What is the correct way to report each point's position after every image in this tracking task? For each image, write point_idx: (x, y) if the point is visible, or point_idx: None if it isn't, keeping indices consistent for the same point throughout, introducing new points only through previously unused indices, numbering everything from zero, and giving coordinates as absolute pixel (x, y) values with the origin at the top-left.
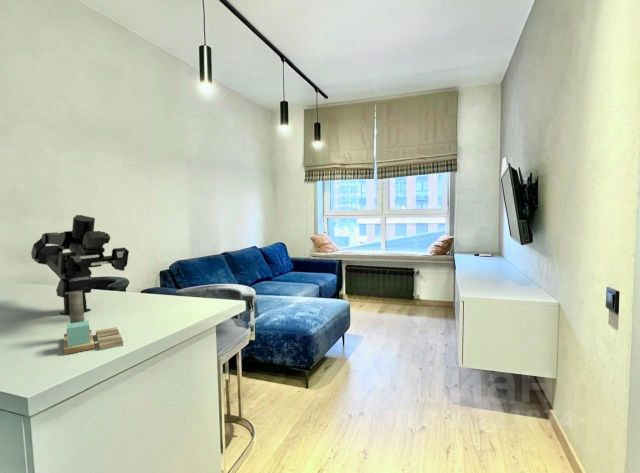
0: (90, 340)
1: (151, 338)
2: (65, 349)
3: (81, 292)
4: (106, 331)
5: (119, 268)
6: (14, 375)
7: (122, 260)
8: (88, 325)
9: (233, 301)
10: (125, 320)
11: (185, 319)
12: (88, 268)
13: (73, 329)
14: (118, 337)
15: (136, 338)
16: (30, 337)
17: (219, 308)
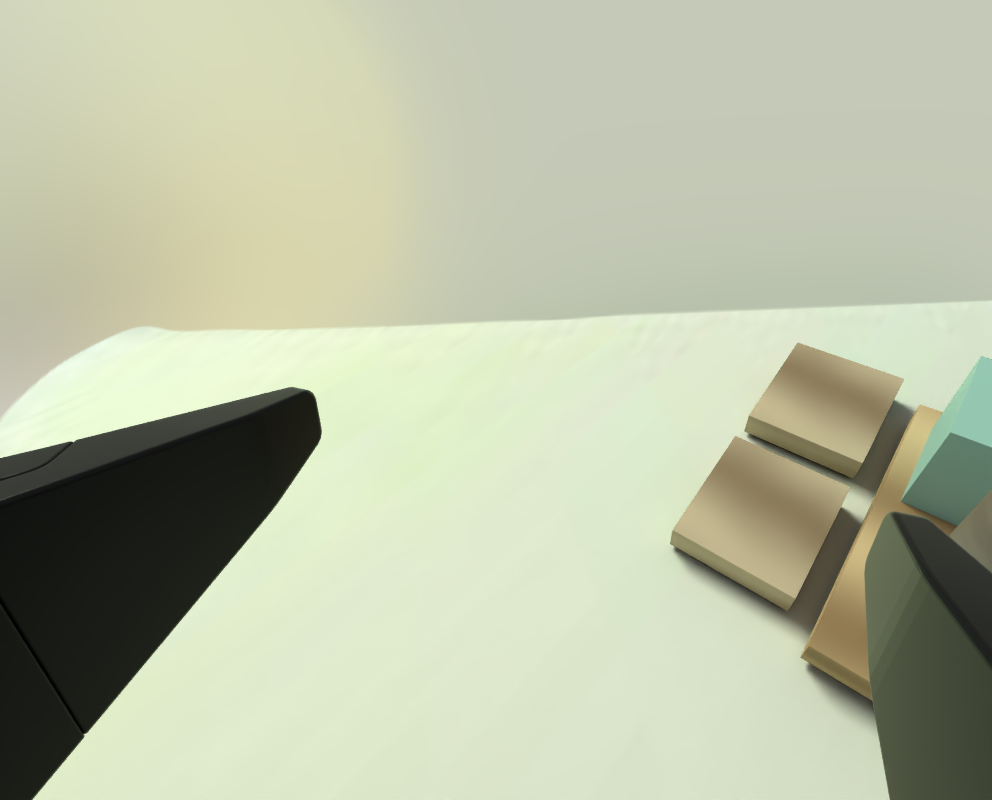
0: (914, 458)
1: (661, 337)
2: None
3: None
4: (763, 515)
5: (220, 538)
6: None
7: (42, 448)
8: (984, 358)
9: (54, 375)
10: (447, 711)
11: (382, 383)
12: (951, 587)
13: None
14: (784, 387)
15: (692, 384)
16: None
17: (189, 361)
